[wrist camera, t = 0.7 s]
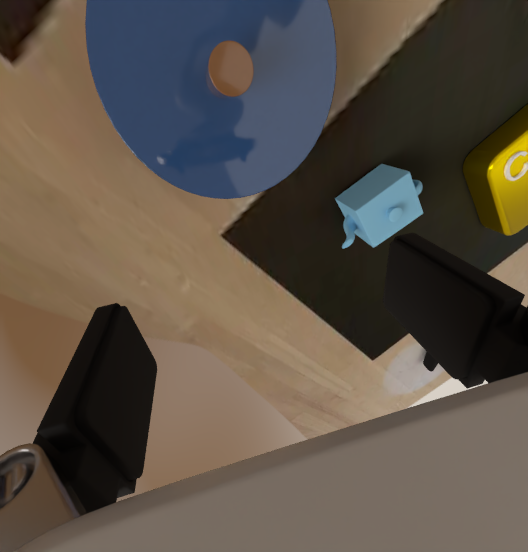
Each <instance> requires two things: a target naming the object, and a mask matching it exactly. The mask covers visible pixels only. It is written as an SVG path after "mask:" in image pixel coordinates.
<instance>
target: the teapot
mask: <svg viewBox="0 0 528 552" xmlns="http://www.w3.org/2000/svg"><path fill="white" fill-rule="evenodd" d="M421 191H422V183H421V182H420V181H419V180H412V177H411V174H410V172H409V171H406V170H402V169H399V168H395V167H392V166H388V165H385V164H381V165H379V166H378V167H376V168H375V169H374V170H372V171H371V172H370V173H368V174H366V176H364V177H363V178H362V179H360V180H359V181H358V182H356V183H355V184H354V185H352V186H351V187H350V188H348V189H347V190H345V191H344V192H343V193H341V194H340V195H339V196H337V197H336V198H335V200H336V202H337V203H338V205H339V207H340V209H341V211H342V213H343V215H344V216H345V220H344V224H343V225H344V230H345V232H346V235H347V238H346V241H345V242H344V244H343V245H342V248H347V247H348V246H350V245H351V244H352V243H353V241H354V239H355V235H354V233H355V234H356V235H358V236H359V237H360V238H362V239H363V240H364V241H365V242H367V243H368V244H369V245H371V246H372V247H373V248H374V247H375V246H377V245H378V244H380V243H381V242H383V241H384V240H386V239H387V238H389V237H390V236H392V235H393V234H394V233H396V232H397V231H399V230H400V229H402V228H403V227H405V226H406V225H407V224H409V223H410V222H412V221H413V220H414V219H416V218H417V217H419V216H420V215H421V214H423V211H422V208H421V205H420V202H419V199H418V195H419V194H420V193H421Z"/></svg>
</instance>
